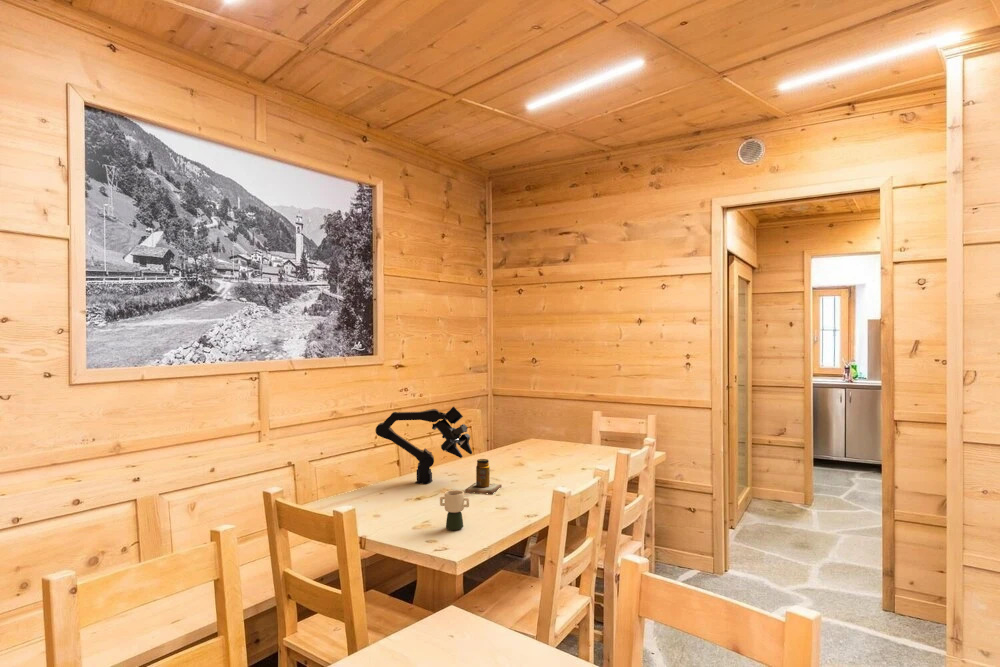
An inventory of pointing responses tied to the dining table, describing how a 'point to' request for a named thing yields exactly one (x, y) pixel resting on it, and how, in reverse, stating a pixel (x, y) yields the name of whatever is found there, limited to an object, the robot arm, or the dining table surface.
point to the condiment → (482, 474)
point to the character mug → (454, 508)
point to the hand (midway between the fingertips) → (466, 455)
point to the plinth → (488, 490)
